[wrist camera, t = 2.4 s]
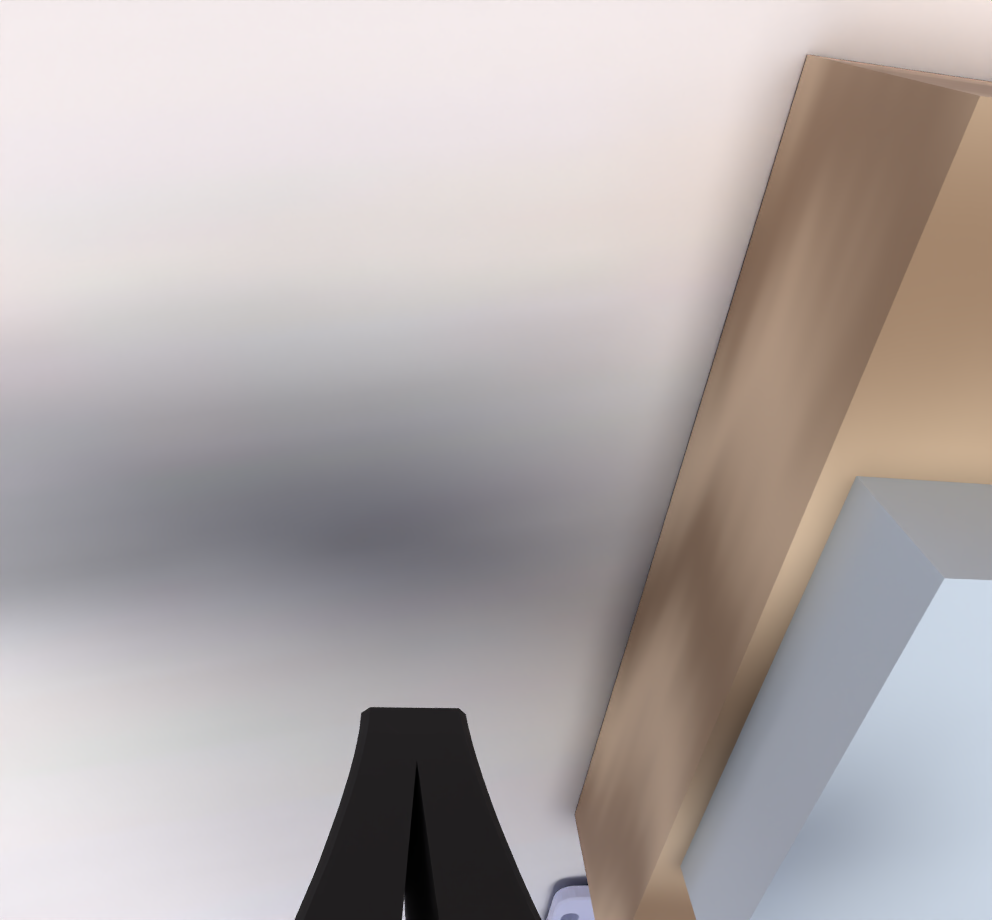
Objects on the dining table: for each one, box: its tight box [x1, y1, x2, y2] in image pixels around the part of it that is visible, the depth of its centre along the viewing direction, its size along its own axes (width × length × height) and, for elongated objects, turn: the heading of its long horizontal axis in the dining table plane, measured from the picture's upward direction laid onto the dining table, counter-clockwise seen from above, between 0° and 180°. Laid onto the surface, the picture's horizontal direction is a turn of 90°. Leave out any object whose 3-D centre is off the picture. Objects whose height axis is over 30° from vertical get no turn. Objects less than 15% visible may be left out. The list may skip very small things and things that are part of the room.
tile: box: [680, 476, 992, 920], centre depth 12 cm, size 9×6×2 cm, turn 173°
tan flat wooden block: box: [575, 55, 992, 920], centre depth 15 cm, size 18×12×4 cm, turn 172°
